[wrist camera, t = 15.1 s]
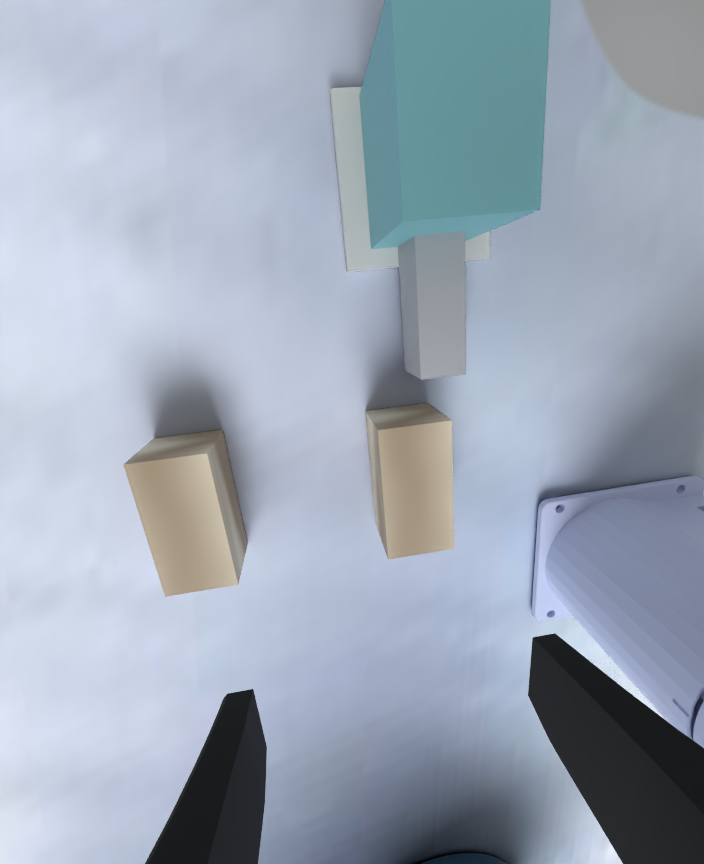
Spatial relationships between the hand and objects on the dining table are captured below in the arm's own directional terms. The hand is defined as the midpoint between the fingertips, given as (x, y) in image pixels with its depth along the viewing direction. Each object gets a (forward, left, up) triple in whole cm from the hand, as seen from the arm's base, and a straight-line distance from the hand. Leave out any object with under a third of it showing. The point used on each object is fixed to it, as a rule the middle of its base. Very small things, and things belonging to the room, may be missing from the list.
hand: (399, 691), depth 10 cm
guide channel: (+2, -2, -10) cm, 10 cm away
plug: (-4, -11, -10) cm, 15 cm away
